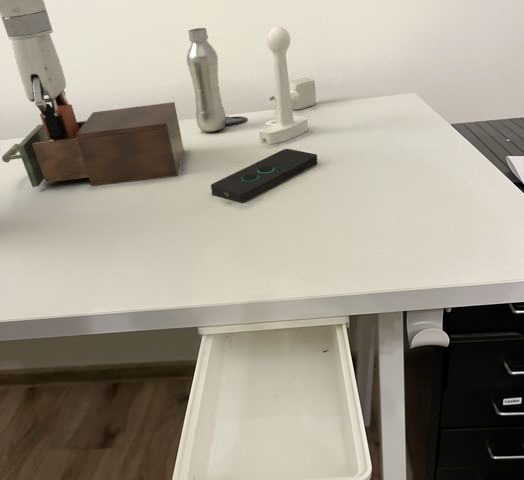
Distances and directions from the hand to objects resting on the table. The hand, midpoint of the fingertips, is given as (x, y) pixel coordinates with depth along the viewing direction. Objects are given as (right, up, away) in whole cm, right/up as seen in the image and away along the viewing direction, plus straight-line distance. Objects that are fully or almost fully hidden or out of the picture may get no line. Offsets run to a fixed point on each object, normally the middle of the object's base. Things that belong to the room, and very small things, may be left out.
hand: (63, 133), depth 105 cm
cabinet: (+14, -5, +4) cm, 15 cm away
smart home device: (+39, -11, -8) cm, 41 cm away
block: (0, 0, 0) cm, 0 cm away
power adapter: (+46, +15, +25) cm, 54 cm away
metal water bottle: (+27, +8, +19) cm, 34 cm away
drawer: (-1, -6, +5) cm, 7 cm away
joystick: (+42, +4, +11) cm, 44 cm away
